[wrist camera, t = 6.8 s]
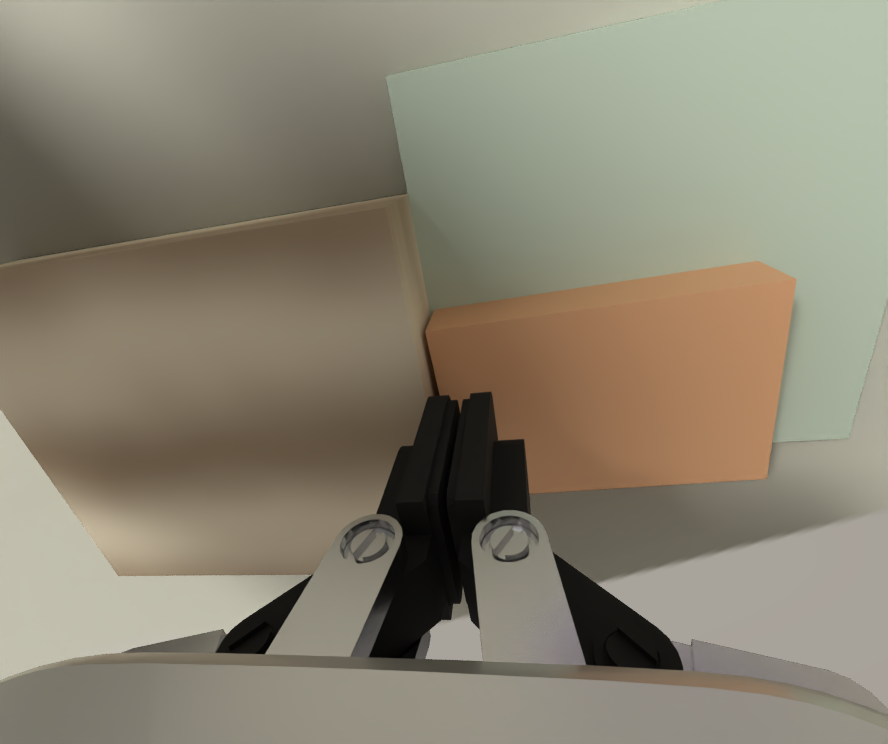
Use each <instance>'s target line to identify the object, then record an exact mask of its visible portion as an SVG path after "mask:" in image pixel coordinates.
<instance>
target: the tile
mask: <svg viewBox="0 0 888 744" xmlns="http://www.w3.org/2000/svg"><path fill="white" fill-rule="evenodd" d="M796 281H797V279H796V278H794V277H791V276H789V275H787V274H785V273H783V272H781V271H779V270H777V269H775V268H773V267H770V266H768V265H766V264H764V263H762V262H760V261H753V262H747V263H740V264H733V265H727V266H720V267H714V268H707V269H700V270H694V271H687V272H680V273H674V274H667V275H661V276H654V277H647V278H641V279H634V280H628V281H621V282H614V283H608V284H601V285H594V286H588V287H581V288H575V289H568V290H561V291H555V292H548V293H541V294H535V295H528V296H522V297H515V298H508V299H502V300H495V301H489V302H482V303H475V304H469V305H462V306H455V307H449V308H442V309H436V310H434V312H433V314H432V316H431V319H430V321H429V324H428V326H427V328H426V331H425V334H426V338H427V342H428V347H429V351H430V355H431V360H432V364H433V368H434V372H435V377H436V381H437V385H438V390H439V394H440V396H442V395H449V396H450V398H451V400H458V404H459V409H460V413H461V407H462V401H463V399H470V393H480V392H492V397H493V404H494V412H495V419H496V427H497V434H498V440H514V439H524V442H525V451H526V461H527V472H528V483H529V494H537V493H553V492H568V491H584V490H600V489H615V488H631V487H647V486H662V485H678V484H694V483H709V482H725V481H741V480H756V479H767V473H768V467H769V460H770V453H771V447H772V440H773V433H774V427H775V420H776V413H777V407H778V400H779V394H780V387H781V380H782V374H783V367H784V360H785V354H786V347H787V341H788V334H789V327H790V321H791V314H792V307H793V301H794V294H795V287H796Z"/></svg>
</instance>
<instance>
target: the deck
mask: <svg viewBox="0 0 888 744" xmlns="http://www.w3.org/2000/svg"><path fill="white" fill-rule="evenodd" d="M430 319H431V315H430V310H429V304H428V299H427V294H426V288H425V283H424V278H423V272H422V267H421V262H420V257H419V251H418V246H417V241H416V235H415V230H414V225H413V219H412V214H411V209H410V204H409V198H408V194H403V195H397V196H391V197H385V198H379V199H374V200H368V201H362V202H356V203H350V204H344V205H338V206H333V207H327V208H321V209H315V210H309V211H303V212H298V213H292V214H286V215H280V216H274V217H268V218H262V219H257V220H251V221H245V222H239V223H233V224H227V225H221V226H216V227H210V228H204V229H198V230H192V231H186V232H181V233H175V234H169V235H163V236H157V237H151V238H145V239H140V240H134V241H128V242H122V243H116V244H110V245H104V246H99V247H93V248H87V249H81V250H75V251H69V252H63V253H58V254H52V255H46V256H40V257H34V258H28V259H23V260H17V261H12V262H8V263H4V264H0V409H1V411H2V412H3V413H4V415H5V416H6V418H7V419H8V420H9V422H10V423H11V425H12V426H13V428H14V429H15V430H16V432H17V433H18V435H19V436H20V437H21V439H22V440H23V442H24V443H25V445H26V446H27V447H28V449H29V450H30V452H31V453H32V454H33V456H34V457H35V459H36V460H37V461H38V463H39V464H40V466H41V467H42V469H43V470H44V471H45V473H46V474H47V476H48V477H49V478H50V480H51V481H52V483H53V484H54V486H55V487H56V488H57V490H58V491H59V493H60V494H61V495H62V497H63V498H64V500H65V501H66V502H67V504H68V505H69V507H70V508H71V510H72V511H73V512H74V514H75V515H76V517H77V518H78V519H79V521H80V522H81V524H82V525H83V527H84V528H85V529H86V531H87V532H88V534H89V535H90V536H91V538H92V539H93V541H94V542H95V544H96V545H97V546H98V548H99V549H100V551H101V552H102V553H103V555H104V556H105V558H106V559H107V560H108V562H109V563H110V565H111V566H112V568H113V569H114V570H115V572H116V573H117V575H118V576H169V575H297V574H314V573H315V571H316V570H317V568H318V566H319V565H320V563H321V561H322V560H323V558H324V556H325V555H326V553H327V551H328V550H329V548H330V547H331V545H332V543H333V542H334V540H335V538H336V537H337V535H338V534H339V533H340V532H341V530H342V529H343V528H344V527H346V526H347V525H348V524H350V523H351V522H352V521H355V520H357V519H359V518H361V517H364V516H367V515H371V514H376V513H377V510H378V507H379V504H380V501H381V499H382V496H383V493H384V490H385V487H386V484H387V482H388V479H389V476H390V473H391V470H392V467H393V465H394V462H395V459H396V456H397V453H398V451H399V449H400V447H402V446H412V445H413V444H414V440H415V437H416V434H417V431H418V427H419V424H420V421H421V418H422V415H423V411H424V408H425V405H426V402H427V399H428V397H430V396H440V394H439V390H438V385H437V381H436V377H435V372H434V368H433V364H432V360H431V355H430V351H429V347H428V342H427V338H426V334H425V331H426V328H427V326H428V324H429V321H430Z"/></svg>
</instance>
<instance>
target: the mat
mask: <svg viewBox="0 0 888 744" xmlns="http://www.w3.org/2000/svg"><path fill="white" fill-rule="evenodd" d="M385 77H386V82H387V87H388V92H389V98H390V103H391V108H392V114H393V119H394V124H395V129H396V135H397V140H398V145H399V151H400V156H401V161H402V167H403V172H404V177H405V182H406V188H407V193H408V198H409V204H410V209H411V214H412V219H413V225H414V230H415V235H416V241H417V246H418V251H419V257H420V262H421V267H422V272H423V278H424V283H425V288H426V294H427V299H428V304H429V310H430V315H431V316H432V314H433V312H434V310H436V309H442V308H449V307H455V306H462V305H469V304H475V303H482V302H489V301H495V300H502V299H508V298H515V297H522V296H528V295H535V294H541V293H548V292H555V291H561V290H568V289H575V288H581V287H588V286H594V285H601V284H608V283H614V282H621V281H628V280H634V279H641V278H647V277H654V276H661V275H667V274H674V273H680V272H687V271H694V270H700V269H707V268H714V267H720V266H727V265H733V264H740V263H747V262H753V261H760V262H762V263H764V264H766V265H768V266H770V267H773V268H775V269H777V270H779V271H781V272H783V273H785V274H787V275H789V276H791V277H794V278H796V279H797V281H796V287H795V294H794V301H793V307H792V314H791V321H790V327H789V334H788V341H787V347H786V354H785V360H784V367H783V374H782V380H781V387H780V394H779V400H778V407H777V413H776V420H775V427H774V433H773V440H772V443H776V442H794V441H812V440H830V439H848V438H849V435H850V431H851V428H852V424H853V421H854V417H855V413H856V410H857V406H858V403H859V399H860V396H861V392H862V389H863V385H864V382H865V378H866V375H867V371H868V368H869V364H870V361H871V357H872V354H873V350H874V347H875V343H876V340H877V336H878V332H879V329H880V325H881V322H882V318H883V315H884V311H885V308H886V304H887V301H888V0H722V1H717V2H713V3H708V4H704V5H699V6H695V7H690V8H686V9H681V10H677V11H672V12H668V13H663V14H659V15H655V16H650V17H646V18H641V19H637V20H632V21H628V22H623V23H619V24H614V25H610V26H605V27H601V28H596V29H592V30H587V31H583V32H579V33H574V34H570V35H565V36H561V37H556V38H552V39H547V40H543V41H538V42H534V43H529V44H525V45H520V46H516V47H511V48H507V49H503V50H498V51H494V52H489V53H485V54H480V55H476V56H471V57H467V58H462V59H458V60H453V61H449V62H444V63H440V64H435V65H431V66H427V67H422V68H418V69H413V70H409V71H404V72H400V73H395V74H391V75H386V76H385Z"/></svg>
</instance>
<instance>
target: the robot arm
mask: <svg viewBox="0 0 888 744" xmlns="http://www.w3.org/2000/svg"><path fill="white" fill-rule="evenodd" d="M463 588H464V593H465V598H466V602H467V604H468V608H469V613H470V618H471V621H472V622H473V623H474V624H475V625H476V626H477V627H478V628H479V629H480V636H481V646H482V656H483V661H461V660H460V661H459V660H432V659H425V658H426V654H427V651H428V648H429V643H430V637H431V636H430V629H431V628H432V627H434V626H435V625H436V624H437V623H438V622H440V621H441V620H451V616H452V608H453V604H460V603H461V598H462V589H463ZM691 643H692V644H691V645H686V644H682V643H678V642H674V641H670V639H669V638H668V637H667V636H666V635H665V634H663V632H662V631H660V630H659V629H658V628H657V627H656V626H654V625H653V624H651V623H650V622H649V621H648V620H646V619H645V618H643V617H642V616H641V615H639V614H638V613H636V612H635V611H633V610H632V609H631V608H629V607H628V606H627V605H625V604H624V603H622V602H621V601H620V600H618V599H617V598H615V597H614V596H613V595H611V594H610V593H609V592H607V591H606V590H604V589H603V588H602V587H600V586H599V585H597V584H596V583H595V582H593V581H592V580H591V579H589V578H588V577H586V576H585V575H584V574H582V573H581V572H579V571H578V570H577V569H575V568H574V567H572V566H571V565H570V564H568V563H567V562H565V561H564V560H563V559H561V558H560V557H559V556H557V555H556V554H554V553H553V552H552V549H551V546H550V542H549V539H548V536H547V532H546V530H545V529H544V527H543V525H542V523H541V522H539V521H538V520H537V519H536V518H535V517H533V516H531V513H530V497H529V483H528V472H527V461H526V451H525V442H524V439H514V440H498V434H497V427H496V419H495V412H494V404H493V397H492V392H480V393H470V399H463V401H462V407H461V413H460V409H459V404H458V400H451V398H450V396H449V395H442V396H430V397H428V399H427V402H426V405H425V408H424V411H423V415H422V418H421V421H420V424H419V427H418V431H417V434H416V437H415V440H414V444H413V445H412V446H402V447H400V449H399V451H398V453H397V456H396V459H395V462H394V465H393V467H392V470H391V473H390V476H389V479H388V482H387V484H386V487H385V490H384V493H383V496H382V499H381V501H380V504H379V507H378V510H377V513H376V514H371V515H367V516H364V517H361V518H359V519H357V520H355V521H352V522H351V523H350V524H348V525H347V526H346V527H344V528H343V529H342V530H341V532H340V533H339V534H338V535H337V537H336V538H335V540H334V542H333V543H332V545H331V547H330V548H329V550H328V551H327V553H326V555H325V556H324V558H323V560H322V561H321V563H320V565H319V566H318V568H317V570H316V571H315V573H314V574H313V575H311V576H310V577H308V578H307V579H305V580H304V581H302V582H301V583H299V584H298V585H296V586H294V587H293V588H291V589H290V590H288V591H287V592H285V593H284V594H282V595H281V596H279V597H278V598H276V599H275V600H273V601H272V602H270V603H269V604H267V605H266V606H264V607H263V608H261V609H259V610H258V611H256V612H255V613H253V614H252V615H250V616H249V617H247V618H246V619H244V620H243V621H242V622H240V623H239V624H238V625H237V626H235V627H234V628H233V629H232V630H231V631H230V632H229V633H228V634H226V633H225V632H224V630H223V629H221V630H216V631H212V632H207V633H202V634H198V635H193V636H188V637H184V638H179V639H174V640H170V641H165V642H160V643H156V644H151V645H147V646H142V647H137V648H133V649H130V650H128V651H125V652H122V653H116V654H102V655H95V656H87V657H79V658H73V659H68V660H64V661H60V662H56V663H51V664H47V665H43V666H39V667H36V668H33V669H30V670H27V671H24V672H22V673H19V674H16V675H13V676H10V677H7V678H5V679H3V680H1V681H0V744H888V708H887V707H886V706H885V705H884V704H883V703H882V702H881V701H879V699H878V698H877V697H875V696H874V695H873V694H872V693H871V692H870V691H869V690H867V689H866V688H864V687H862V686H861V685H859V684H858V683H856V682H854V681H853V680H851V679H850V678H847V677H845V676H842V675H839V674H837V673H834V672H831V671H829V670H825V669H820V668H816V667H811V666H807V665H803V664H798V663H794V662H789V661H785V660H781V659H776V658H772V657H768V656H763V655H759V654H755V653H750V652H746V651H741V650H737V649H733V648H728V647H724V646H720V645H715V644H711V643H707V642H702V641H697V640H693V639H692V642H691Z"/></svg>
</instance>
